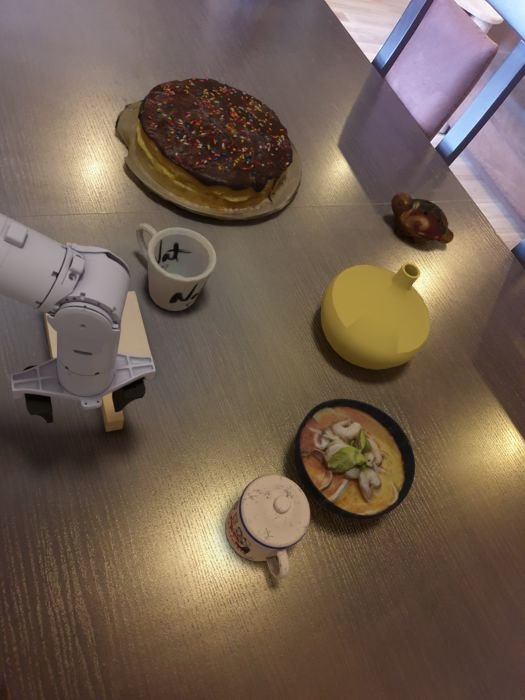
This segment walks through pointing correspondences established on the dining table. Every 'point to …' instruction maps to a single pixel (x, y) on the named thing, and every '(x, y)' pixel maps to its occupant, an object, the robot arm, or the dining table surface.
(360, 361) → the vase
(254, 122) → the cake
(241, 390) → the dining table surface
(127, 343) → the sponge cake
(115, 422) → the knife
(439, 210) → the decorative turtle
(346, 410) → the bowl
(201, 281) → the mug
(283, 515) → the teacup with lid
